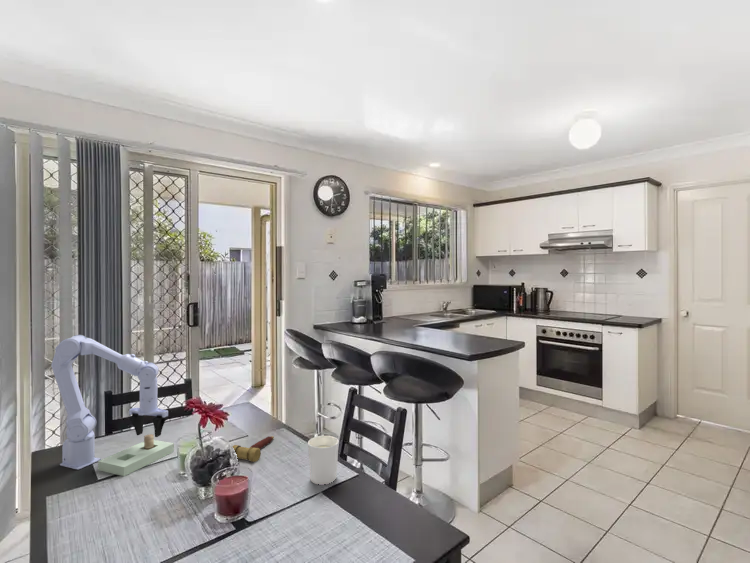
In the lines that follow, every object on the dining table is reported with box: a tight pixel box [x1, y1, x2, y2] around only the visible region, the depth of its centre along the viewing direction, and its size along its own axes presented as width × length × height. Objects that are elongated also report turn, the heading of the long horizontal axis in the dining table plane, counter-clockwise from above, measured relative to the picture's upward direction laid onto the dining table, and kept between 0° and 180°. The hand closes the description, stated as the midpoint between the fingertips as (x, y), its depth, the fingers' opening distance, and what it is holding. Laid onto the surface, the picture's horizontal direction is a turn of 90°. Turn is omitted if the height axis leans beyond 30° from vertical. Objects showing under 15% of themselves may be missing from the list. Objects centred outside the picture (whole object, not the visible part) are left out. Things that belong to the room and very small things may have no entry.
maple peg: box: [143, 433, 155, 450], centre depth 149 cm, size 3×3×7 cm
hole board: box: [97, 439, 175, 477], centre depth 145 cm, size 12×20×3 cm, turn 160°
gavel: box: [232, 436, 275, 463], centre depth 154 cm, size 21×5×10 cm
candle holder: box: [307, 435, 340, 486], centre depth 132 cm, size 10×10×12 cm
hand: (148, 435), depth 149 cm, fingers open, 7 cm apart
